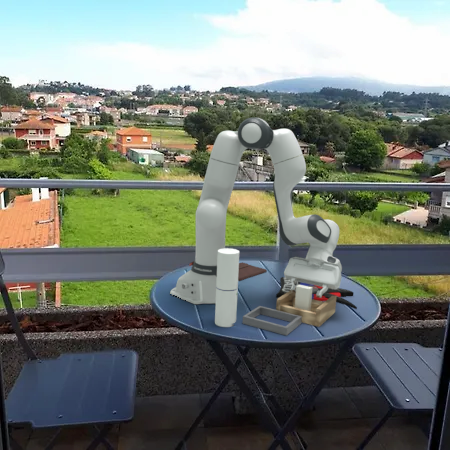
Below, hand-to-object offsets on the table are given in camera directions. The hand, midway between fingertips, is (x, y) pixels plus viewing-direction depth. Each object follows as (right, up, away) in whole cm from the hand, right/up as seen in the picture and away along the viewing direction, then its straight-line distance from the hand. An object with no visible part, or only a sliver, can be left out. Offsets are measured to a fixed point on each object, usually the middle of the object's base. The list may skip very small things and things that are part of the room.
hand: (305, 293), depth 168 cm
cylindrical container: (-28, -9, -5) cm, 30 cm away
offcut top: (+2, -4, +4) cm, 6 cm away
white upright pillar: (-1, -8, 0) cm, 8 cm away
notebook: (-21, +2, +52) cm, 56 cm away
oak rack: (+1, -9, +4) cm, 9 cm away
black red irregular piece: (+8, -5, +25) cm, 27 cm away
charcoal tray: (-12, -10, -6) cm, 17 cm away
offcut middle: (+2, -6, +5) cm, 8 cm away
